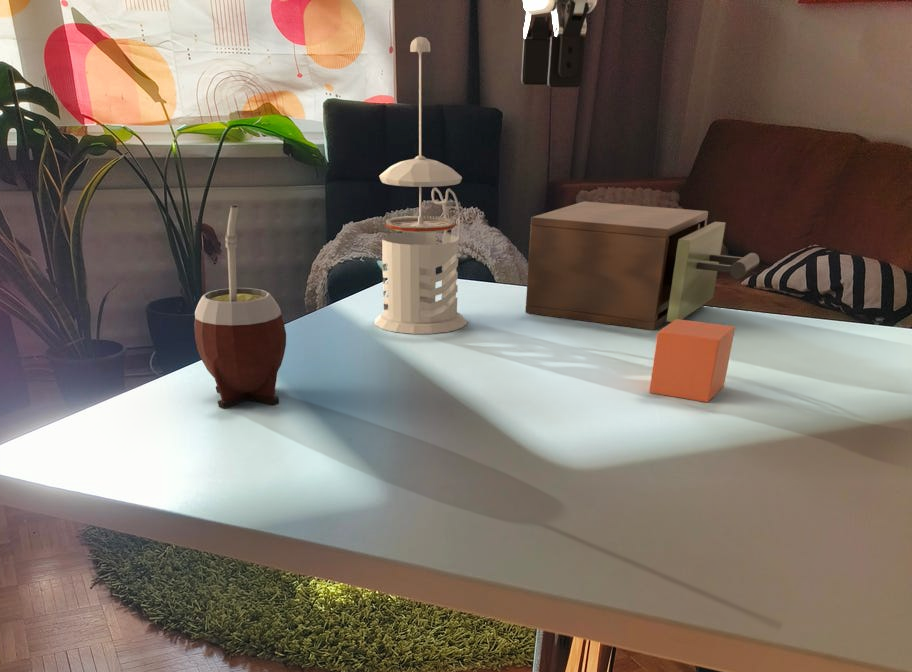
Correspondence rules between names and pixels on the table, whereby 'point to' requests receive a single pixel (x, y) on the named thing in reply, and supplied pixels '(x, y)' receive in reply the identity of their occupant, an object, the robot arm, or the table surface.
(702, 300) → the drawer
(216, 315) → the mate gourd
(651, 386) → the block
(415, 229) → the french press
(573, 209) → the cabinet
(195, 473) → the table surface
